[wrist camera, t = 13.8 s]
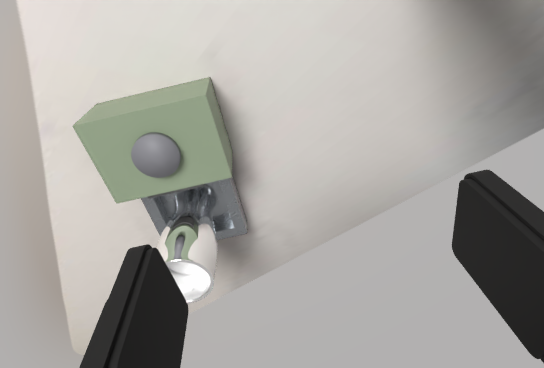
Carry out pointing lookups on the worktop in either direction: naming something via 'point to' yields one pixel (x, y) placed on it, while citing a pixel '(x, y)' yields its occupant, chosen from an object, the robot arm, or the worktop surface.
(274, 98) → the worktop surface
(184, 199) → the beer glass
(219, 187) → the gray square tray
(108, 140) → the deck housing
